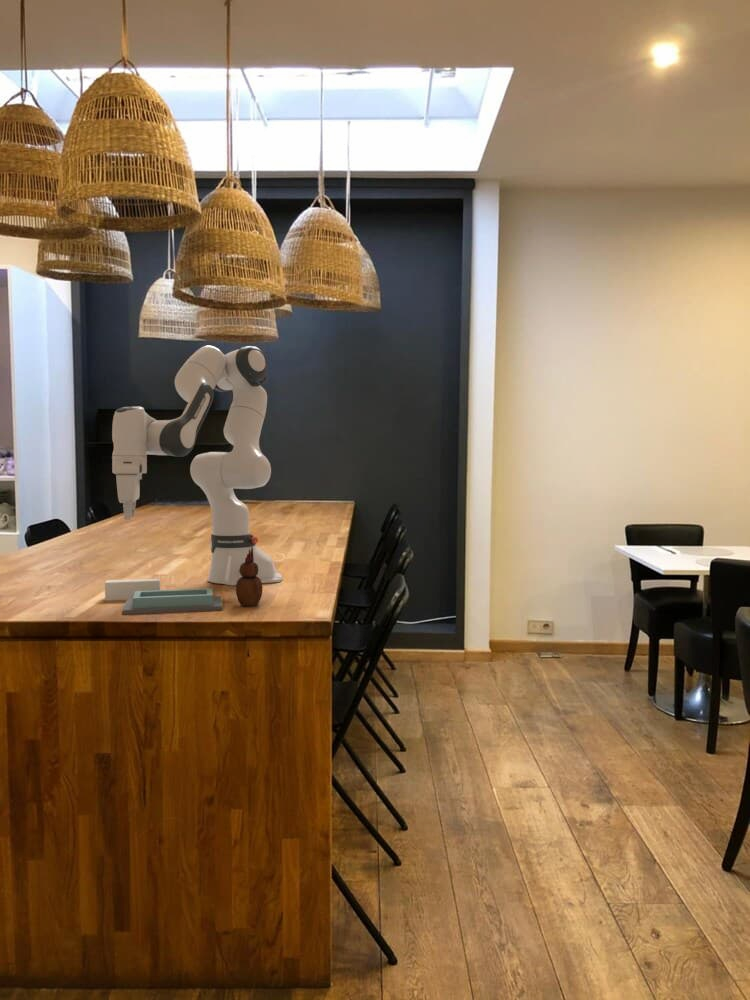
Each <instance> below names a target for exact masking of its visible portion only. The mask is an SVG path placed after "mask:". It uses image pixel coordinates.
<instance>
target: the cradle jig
mask: <svg viewBox="0 0 750 1000" xmlns="http://www.w3.org/2000/svg"><path fill="white" fill-rule="evenodd" d="M208 611H210V612H211V611H223V601H222V596H221V595H214V593H213V588H211V587H209V588H208V587H207V588H187V589H185V588H184V589H162V590H161V589H160V590H153V591H135V594H134V596H133V599H127V600H125V604H124V605H123V608H122V615H140V614H163V613H164V614H167V613H184V612H185V613H188V612H208Z"/></svg>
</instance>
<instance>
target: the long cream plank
mask: <svg viewBox="0 0 750 1000" xmlns="http://www.w3.org/2000/svg"><path fill="white" fill-rule="evenodd" d="M153 590H161V578H139V579H137V578H136V579H135V578H134V579H130V578H129V579H107V580H105V582H104V601H106V602H107V601H127V599H133V596H134V594H135V591H153Z"/></svg>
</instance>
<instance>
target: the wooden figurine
mask: <svg viewBox="0 0 750 1000" xmlns="http://www.w3.org/2000/svg"><path fill="white" fill-rule="evenodd" d="M240 574H241V576H243V577H241V578H239V580H238V581H237V584H236V585H235V592H236V593H235V594H236V598H237V601H238V603H239V605H240V606H242V607H253V606H257V605H258V604H259V603H260V601H261V598H262V595H263V583H262V582H261V580H260V578H259V577H257V576H256V575H257V574H258V565H257V564H256V563H254V559H253V547H252V548H251V552H250V550H249V554H247V558H245V562H244V563H242V564H241V566H240Z"/></svg>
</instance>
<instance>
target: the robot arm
mask: <svg viewBox="0 0 750 1000" xmlns="http://www.w3.org/2000/svg"><path fill="white" fill-rule="evenodd" d="M267 363H268V361H267V358H266V356H265V354H264V352H263V351H262V350H261V349H260V348H258V347H257V346H251V345H250V346H249V345H247V346H242V347H241V348H239V349H235V350H232V351H230V352H228V353H226V354H224V353H223V351H221V350H220V349H219V348H218V347H216V346H213V345H204V346H202V347H200V348H198V349H197V350H196V351H195V352H194V353H192V354H191V356H189V358H188V359H186V361H185V362H184V363H183V365H182V366H181V368H180V369H179V370H178V372H177V373H176V375H175V378H174V387H175V390H176V392H177V393H178V395H179V397H181V398H182V399H183V401H185V402H186V403H187V404H186V406H185V408H184V410H183V412H182V414H181V415H180V416H179V417H176V418H173V419H163V420H161V419H160V420H159V419H158V420H157V419H156V418H154V417H152V416H150V415H149V414H148V413H147V412H146V411H145V408H144V407H143V406H140V405H139V406H138V405H134V406H133V405H131V406H124V407H120V408H118V409H116V410H115V411H114V414H113V417H112V418H113V419H112V429H111V430H112V431H111V433H112V434H111V436H112V437H111V438H112V440H111V441H112V442H113V451H112V456H111V459H112V460H111V461H112V463H111V465H112V467H111V469H112V474H114V475H115V477H116V478H115V479H116V489H117V499H118V503H120V504H122V508H123V509H122V510H123V518H124V520H125V521H129V520H131V519H133V518H132V517H135V516H136V506H137V500H139V499H140V495H141V494H140V491H141V490H140V489H141V488H140V486H141V485H140V483H141V482H140V480H143V474H147V471H148V466H147V465H148V464H147V463H148V459H147V458H148V456H147V455H150V456H151V455H153V456H155V455H156V456H171V457H179V458H182V457H186V456H188V455H189V454H190V453H191V452H192V450H193V449H194V446H195V445H196V440H197V437H198V434H199V431H200V429H201V427H202V425H203V422H204V421H205V419H206V418H207V415H208V413H209V411H210V408H211V407H212V404H213V401H214V396H215V394H214V390H215V391H217V392H219V393H227V392H228V393H229V392H231V391H232V395H233V397H232V402H231V404H230V407H229V410H228V414H227V415H226V420H225V423H224V426H223V436H224V438H225V439H226V441H227V442H228V443H229V444H230V445H232V446H233V448H232V450H231V451H229V452H228V451H208V452H203V453H200V454H197V455H196V456H194V458H193V459H192V461H191V463H190V468H189V471H190V472H189V473H190V477H191V478H192V480H193V482H194V484H196V486H198V487H200V489H201V490H202V491H203V493H204V494H205V495H206V499H207V501H208V503H209V506H210V511H211V512H210V513H211V525H212V527H211V529H212V530H211V532H212V533H211V534H210V551H211V559H210V566H209V567H210V568H209V573H208V577H207V582H209V583H213V584H222V585H226V586H236V584H237V581H238V580H239V578H241V577H243V576H241V574H240V566H241V564H242V563H244V562H245V558H247V554H249V550H250V552H251V548H252V547H253V559H254V563H256V564H257V565H258V574H257V575H256V576H257V577H259V578H260V580H261V582H262V584H271V583H279V582H282V581H283V576H282V574H281V573H279V572H277V571H276V568H275V564H274V560H273V558H272V557H271V556H270V555H268V554H267V553H266V552H265V551H264V550H262V549H261V548H259V547H258V546H257V544H258V542H259V537H258V536H256V535H254V534H252V533H250V510H249V507H248V505H247V504H245V503H244V502H242V501H241V500H239V499H238V498H237V496H236V494H235V491H234V489H235V490H236V489H239V490H250V489H257V488H261V487H264V486H266V484H267V483H268V482H269V480H270V479H271V476H272V475H271V474H272V467H271V463H270V461H269V460H268V458H267V457H266V456H265V455H264V454H263V452H262V450H261V447H260V436H261V433H262V427H263V424H264V420H265V417H266V413H267V406H268V405H267V404H268V394H267V391H266V389H264V387H262V385H263V384H264V383H265V381H266V374H267V368H268V365H267Z"/></svg>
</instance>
